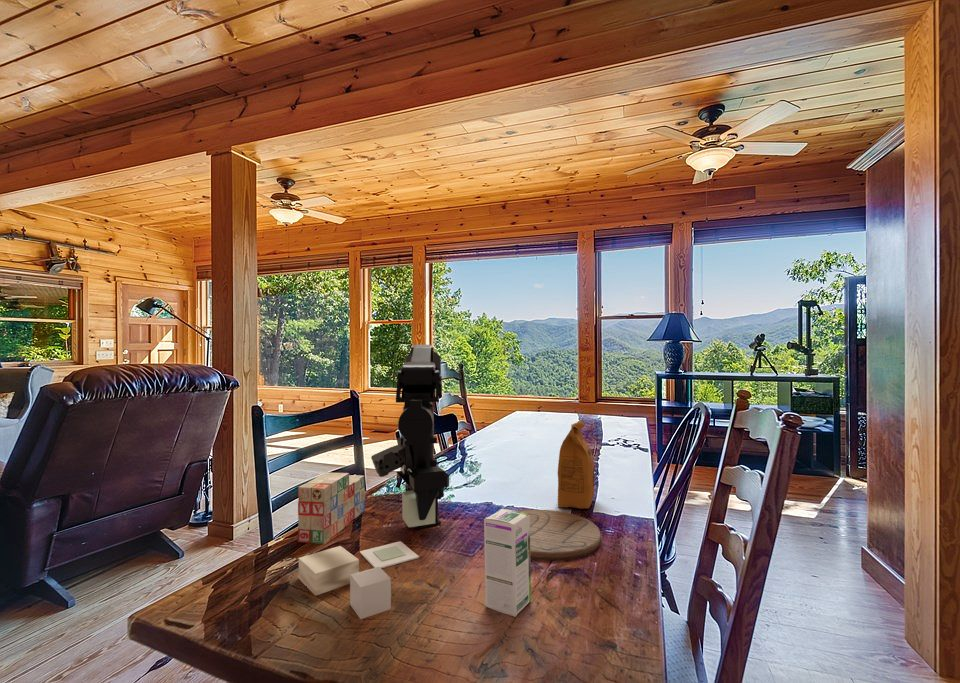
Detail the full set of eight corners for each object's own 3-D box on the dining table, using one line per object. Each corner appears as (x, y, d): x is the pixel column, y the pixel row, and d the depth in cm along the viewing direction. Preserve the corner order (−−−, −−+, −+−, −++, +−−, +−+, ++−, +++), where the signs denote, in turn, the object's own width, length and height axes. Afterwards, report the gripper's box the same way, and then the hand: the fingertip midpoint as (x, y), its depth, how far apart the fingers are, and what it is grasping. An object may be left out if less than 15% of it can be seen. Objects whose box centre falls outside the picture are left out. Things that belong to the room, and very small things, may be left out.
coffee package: (600, 499, 129) (599, 420, 129) (590, 513, 117) (589, 427, 118) (565, 495, 133) (564, 418, 133) (552, 508, 122) (552, 424, 122)
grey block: (379, 596, 78) (379, 566, 78) (390, 609, 74) (390, 578, 74) (350, 605, 75) (350, 574, 75) (360, 619, 71) (360, 587, 71)
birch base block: (340, 566, 89) (340, 545, 89) (359, 581, 83) (359, 559, 83) (298, 580, 84) (298, 558, 84) (315, 597, 78) (315, 573, 78)
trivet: (611, 528, 109) (611, 519, 109) (582, 572, 87) (582, 562, 87) (515, 510, 121) (515, 503, 121) (468, 546, 99) (468, 537, 99)
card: (400, 542, 100) (400, 540, 100) (418, 557, 92) (418, 555, 92) (359, 552, 95) (359, 550, 95) (376, 569, 87) (376, 567, 87)
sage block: (427, 514, 89) (427, 488, 89) (435, 523, 84) (435, 495, 84) (402, 518, 87) (402, 491, 87) (408, 527, 82) (408, 499, 82)
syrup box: (515, 618, 71) (515, 524, 72) (483, 607, 74) (483, 517, 75) (531, 601, 76) (531, 513, 77) (500, 591, 79) (500, 506, 80)
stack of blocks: (342, 509, 121) (343, 462, 121) (365, 511, 120) (365, 463, 120) (297, 542, 100) (297, 486, 100) (323, 544, 99) (324, 487, 99)
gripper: (367, 426, 92) (366, 505, 91) (385, 443, 74) (384, 540, 74) (421, 423, 96) (421, 498, 95) (450, 438, 79) (450, 530, 78)
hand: (418, 515), depth 86 cm, fingers closed on sage block, 5 cm apart
